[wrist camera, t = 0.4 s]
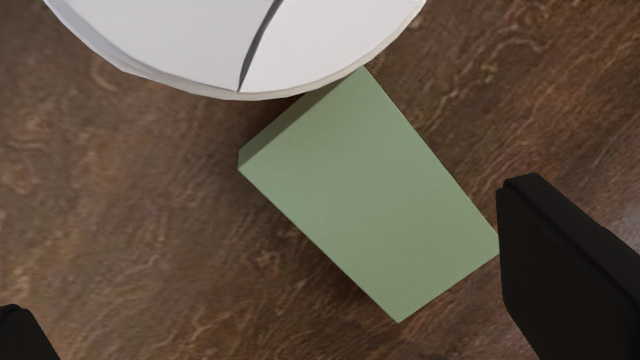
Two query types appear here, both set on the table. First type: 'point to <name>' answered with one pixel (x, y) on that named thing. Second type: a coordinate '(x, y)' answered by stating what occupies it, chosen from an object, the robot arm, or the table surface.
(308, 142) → the sage green foam block
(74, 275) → the table surface
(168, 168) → the table surface
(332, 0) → the coffee cup
